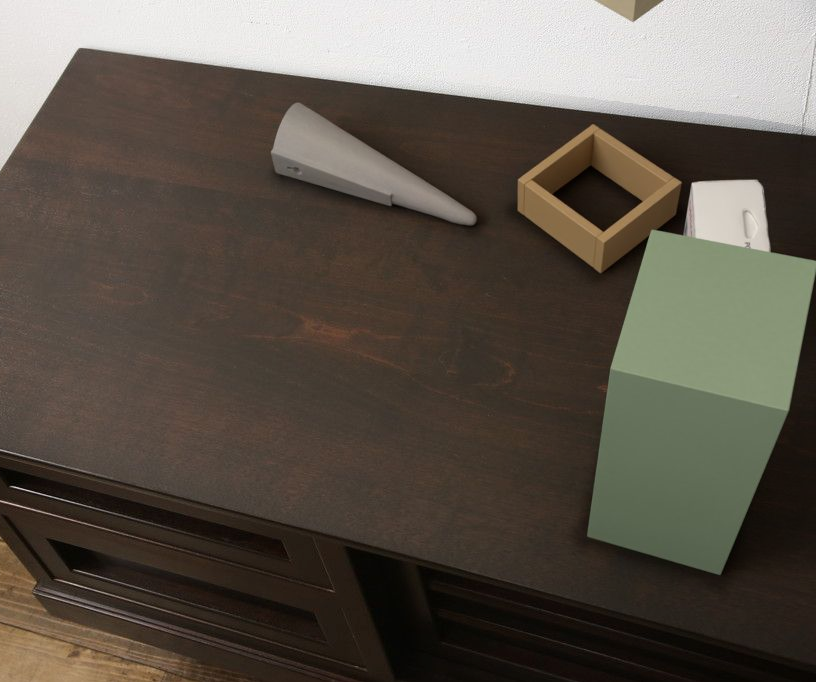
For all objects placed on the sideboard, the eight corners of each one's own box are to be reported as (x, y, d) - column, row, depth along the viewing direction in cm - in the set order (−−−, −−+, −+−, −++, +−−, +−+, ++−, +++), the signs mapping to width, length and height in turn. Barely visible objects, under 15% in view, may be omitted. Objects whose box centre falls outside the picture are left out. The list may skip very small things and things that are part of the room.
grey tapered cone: (501, 150, 92) (298, 89, 97) (473, 210, 90) (268, 144, 95) (498, 187, 97) (306, 127, 102) (472, 245, 95) (277, 180, 100)
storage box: (675, 214, 90) (682, 182, 87) (600, 273, 88) (604, 242, 85) (590, 156, 95) (593, 123, 92) (517, 210, 93) (517, 179, 90)
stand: (747, 450, 77) (818, 260, 60) (720, 575, 73) (789, 411, 55) (620, 418, 80) (651, 228, 63) (586, 536, 76) (610, 368, 58)
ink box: (671, 277, 87) (691, 176, 77) (737, 278, 86) (766, 176, 76) (676, 368, 82) (698, 273, 72) (747, 370, 81) (779, 274, 71)
